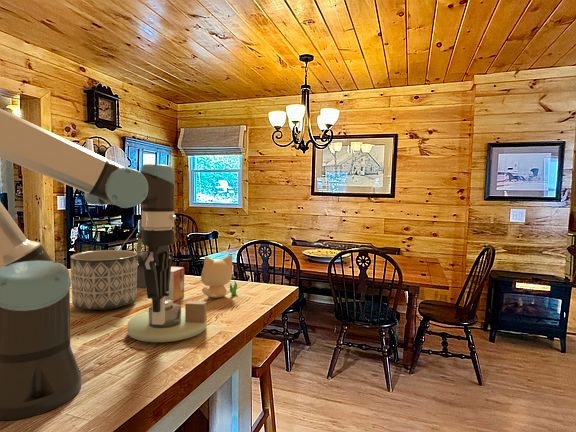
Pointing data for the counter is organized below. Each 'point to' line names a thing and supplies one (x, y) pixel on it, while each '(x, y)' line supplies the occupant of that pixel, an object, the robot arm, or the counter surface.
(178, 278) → the small box
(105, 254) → the planter
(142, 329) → the turntable
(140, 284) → the lantern
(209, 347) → the counter surface
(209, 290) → the kitten
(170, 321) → the cover
